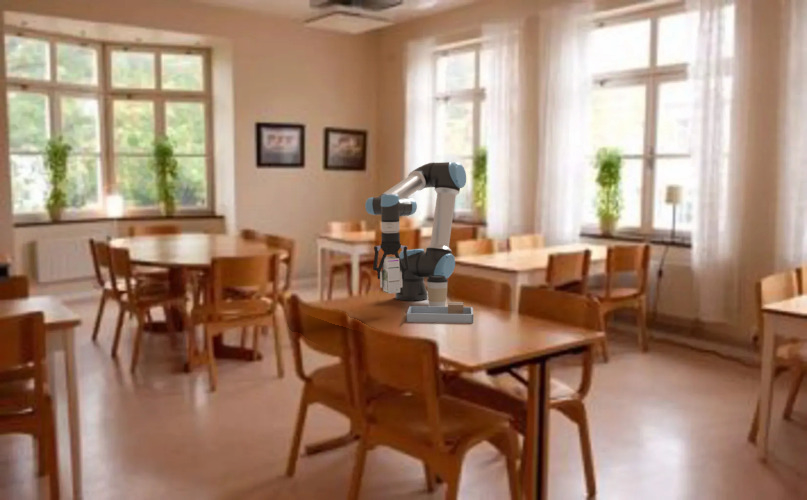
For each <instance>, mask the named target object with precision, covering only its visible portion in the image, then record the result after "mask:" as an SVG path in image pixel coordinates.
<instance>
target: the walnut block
mask: <svg viewBox="0 0 807 500" xmlns="http://www.w3.org/2000/svg"><path fill="white" fill-rule="evenodd" d="M447 307H448V314H463V307H464V301H448V303H447Z"/></svg>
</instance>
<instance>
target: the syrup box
mask: <svg viewBox="0 0 807 500" xmlns="http://www.w3.org/2000/svg"><path fill="white" fill-rule="evenodd" d="M381 271H382V272H383V287H382V291H383V293H386V294H389V295H390V294H396V293H400V266H399V258H396V257H395V256H386V258H385V259H384V262H383V265H382V268H381Z"/></svg>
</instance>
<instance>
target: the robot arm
mask: <svg viewBox="0 0 807 500" xmlns="http://www.w3.org/2000/svg"><path fill="white" fill-rule="evenodd" d="M466 183H467V172H466V170H465V167H464V166H463V165H462V164H461V163H460V162H453V161H449V162H447V161H446V162H428V163H425V164H424V165H421V166H419V167H417V168H415V169H414V170H412V171H410V172H409V173H408V175H407V177H406V178H404V179H402V180H401V181H400V182H398V183H397V184H395V185H394V186H391V188H389V189H387V190H386V191H384V192H383V193H382V194H380V195H379V196H372V197H368V198H367V199H366V201H365V204H364V205H365V206H364V207H365V211H366V213H368V215H372V216H380V217H381V219H380V220H381V222H380V223H381V224H380V225H381V226H380V231H381V233H380V234H381V235H380V236H381V239H380V240H381V244H380V245H375V246H374V247H373V251H374V256H373V266H372V270H373V271H376V272H377V280H379V283H380V285H379V286H380V288H381V289H383V272H382V265H383V262H384V259H385V258H386V257H387V256H389V255H391V256H392V255H394V257H396V258H399V266H400V293H394V294H395V299H396V300H398V299H399V300H398V301H405V300H406V301H407V302H408V301H409V302H414V300H419V301H424V300H423V299H425V300H428V290H427V288H426V287H427V286H426V284H425V280H424V279H425V278H427V279H428V278H429V276H430V275H431V276H432V275H442V276H445V277H446V278H447V279H449V278H450V277H451V276H452V274H453V273H454V270H455V267H456V260H455V259H456V257H455V256H454V255H453V254H452V252H453V251H452V249H451V248H450V240H451V233H452V225H453V219H454V210H455V203H456V198H457V195H458V194H460V193H461V190H460V189H462V188H464V187H465V186H466ZM425 188H427V189H428V188H434V191H435V192H436V201H435V207H434V215H433V221H432V222H433V223H432V230H431V238H430V244H429V245H428V246H427V247H425V248H426V250H425V248H415V249H414V248H413V249H408V246H407V245H402V244H401V238H400V237H401V235H400V234H401V233H400V230H401V229H400V227H401V225H400V222H401V221H400V217H405V216H406V217H410V216H412V215H413V214H415V213H416V212H417V209H418V203H417V202H416V200H415V199H414V198H412V197H410V196H411V195H413V194H414V193H415V192H417V191H422V190H424V189H425ZM400 249H401V251H400ZM380 250H382V251H383V254H382V257H381V260H380V261H379V265H378V260H379V259H378V258H379V251H380ZM399 251H400V252H399Z"/></svg>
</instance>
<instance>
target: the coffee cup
mask: <svg viewBox="0 0 807 500" xmlns="http://www.w3.org/2000/svg"><path fill="white" fill-rule="evenodd" d="M426 282H427V284H426V285H427V286H426V287H427V288H426V290H427V294H428V298H427V300H428V306H442V307H446V303H447V295H448V282H449V280H448V278H446V277H445V276H442V275H432V276H431V275H430V276H429V278H427V280H426Z"/></svg>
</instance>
